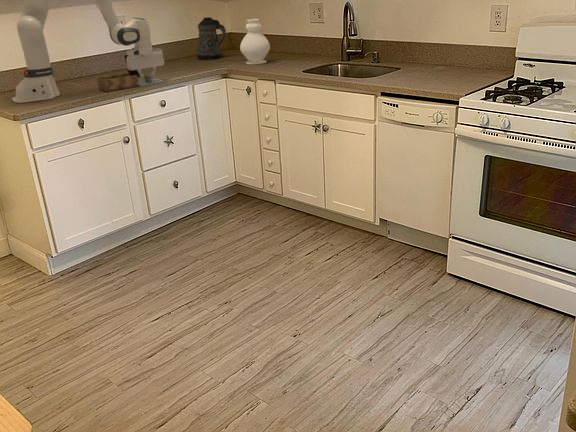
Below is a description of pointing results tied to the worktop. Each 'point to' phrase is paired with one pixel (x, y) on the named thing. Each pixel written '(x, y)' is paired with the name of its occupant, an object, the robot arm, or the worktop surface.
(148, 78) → the cover plate
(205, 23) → the beer stein
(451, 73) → the worktop surface
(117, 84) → the walnut box
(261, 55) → the decorative vase
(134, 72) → the cup
